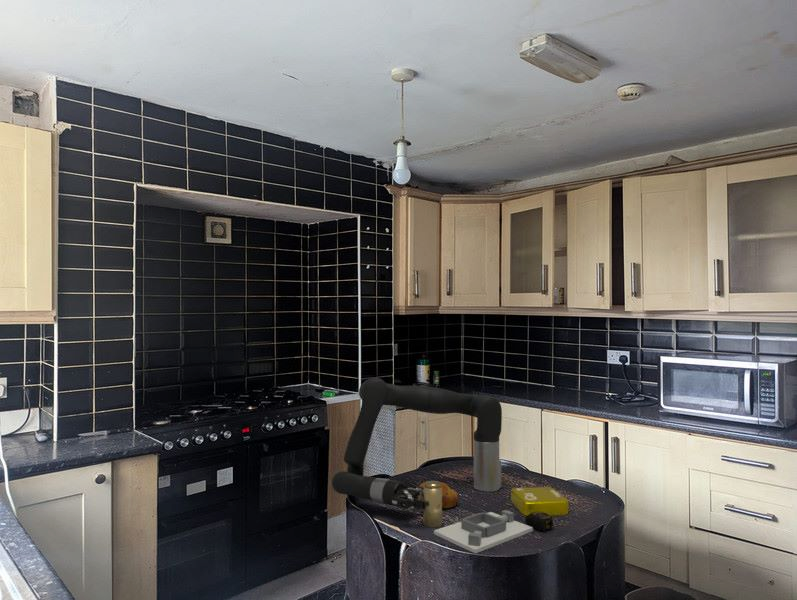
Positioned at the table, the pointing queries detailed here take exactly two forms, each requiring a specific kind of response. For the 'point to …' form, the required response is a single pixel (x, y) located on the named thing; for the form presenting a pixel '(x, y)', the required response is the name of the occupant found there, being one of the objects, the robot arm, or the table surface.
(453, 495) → the croissant
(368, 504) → the table surface
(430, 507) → the golden brown cylinder
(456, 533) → the cradle
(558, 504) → the element tile
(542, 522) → the tape measure
